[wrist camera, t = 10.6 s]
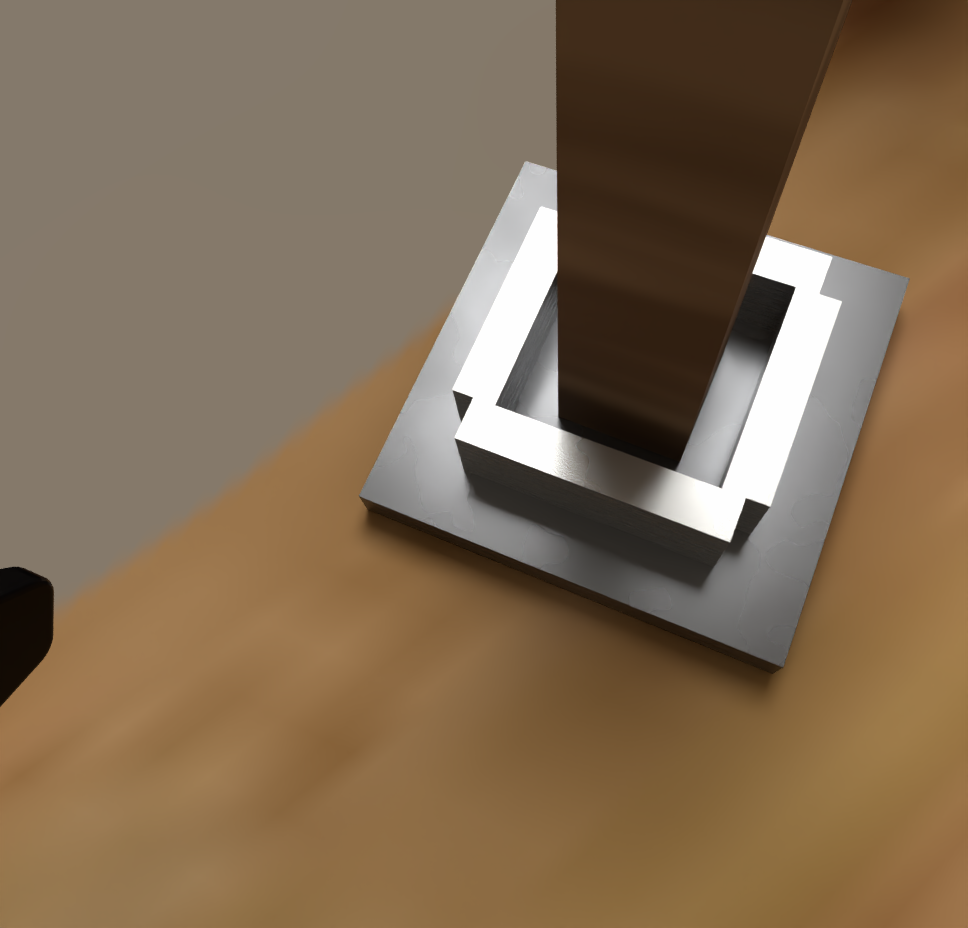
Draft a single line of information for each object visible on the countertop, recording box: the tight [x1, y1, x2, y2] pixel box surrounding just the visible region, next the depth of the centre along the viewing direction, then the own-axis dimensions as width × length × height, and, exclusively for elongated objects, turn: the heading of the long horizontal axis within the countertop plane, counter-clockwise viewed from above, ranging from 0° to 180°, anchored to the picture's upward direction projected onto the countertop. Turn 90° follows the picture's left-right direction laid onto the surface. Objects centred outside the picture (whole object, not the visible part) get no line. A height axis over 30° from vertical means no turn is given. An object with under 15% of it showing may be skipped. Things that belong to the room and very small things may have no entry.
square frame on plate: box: [359, 162, 910, 674], centre depth 21 cm, size 10×10×3 cm
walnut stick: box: [556, 0, 852, 462], centre depth 15 cm, size 3×3×13 cm
